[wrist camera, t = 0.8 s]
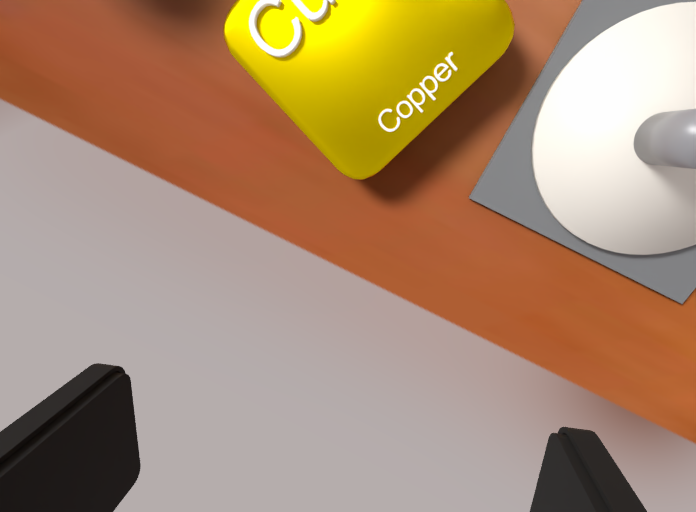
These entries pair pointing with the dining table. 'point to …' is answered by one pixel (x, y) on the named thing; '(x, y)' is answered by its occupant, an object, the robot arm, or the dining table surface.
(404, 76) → the element tile
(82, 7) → the dining table surface
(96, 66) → the dining table surface
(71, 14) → the dining table surface
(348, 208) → the dining table surface
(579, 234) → the lid
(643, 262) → the mat
